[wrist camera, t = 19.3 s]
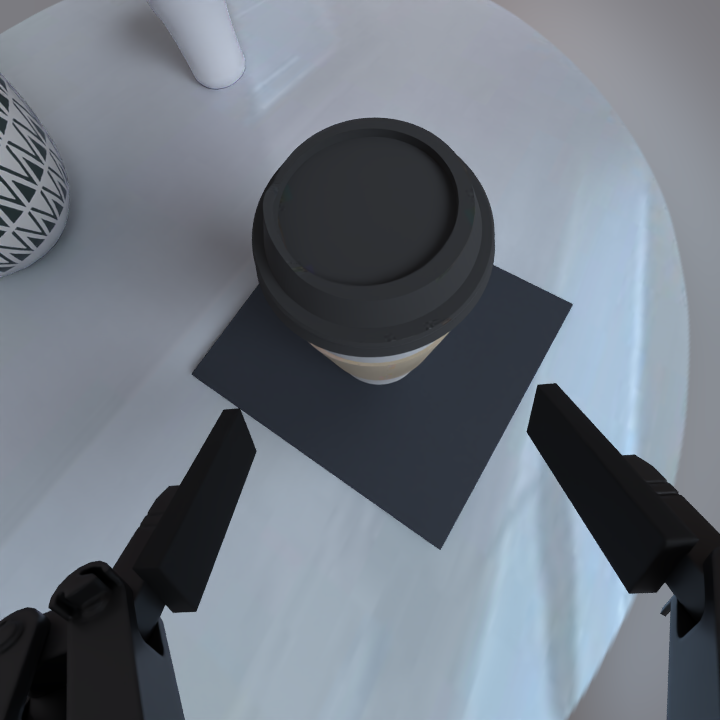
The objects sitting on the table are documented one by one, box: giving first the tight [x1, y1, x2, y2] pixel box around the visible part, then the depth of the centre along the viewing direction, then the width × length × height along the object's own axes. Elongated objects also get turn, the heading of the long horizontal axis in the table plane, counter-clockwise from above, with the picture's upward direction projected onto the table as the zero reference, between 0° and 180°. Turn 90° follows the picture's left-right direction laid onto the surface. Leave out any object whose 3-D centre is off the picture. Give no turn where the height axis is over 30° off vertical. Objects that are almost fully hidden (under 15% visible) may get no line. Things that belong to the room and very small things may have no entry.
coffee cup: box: [252, 118, 495, 385], centre depth 17 cm, size 9×9×15 cm
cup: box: [146, 0, 246, 89], centre depth 28 cm, size 9×9×10 cm
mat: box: [192, 265, 573, 550], centre depth 24 cm, size 22×20×1 cm
